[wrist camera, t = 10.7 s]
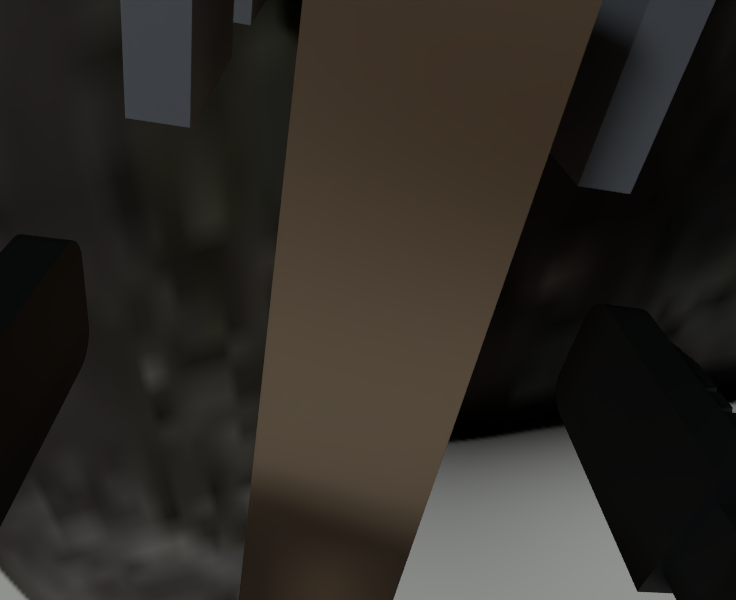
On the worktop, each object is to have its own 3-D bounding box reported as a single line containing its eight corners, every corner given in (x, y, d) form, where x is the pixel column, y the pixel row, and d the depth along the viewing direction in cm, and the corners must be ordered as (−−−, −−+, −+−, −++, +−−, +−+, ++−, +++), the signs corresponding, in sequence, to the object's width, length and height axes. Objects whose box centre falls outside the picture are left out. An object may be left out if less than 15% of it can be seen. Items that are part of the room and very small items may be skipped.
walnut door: (323, -114, 13) (311, -130, 4) (475, -82, 13) (801, -25, 4) (271, 338, 19) (222, 741, 10) (375, 349, 20) (416, 743, 11)
